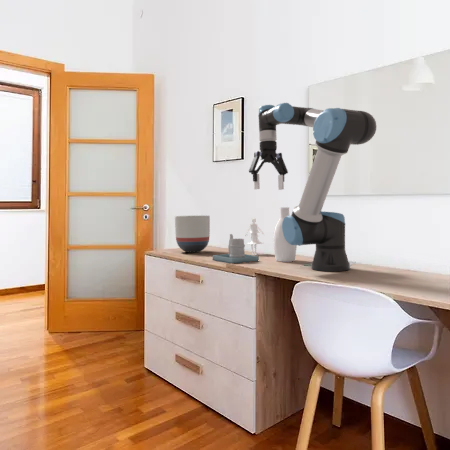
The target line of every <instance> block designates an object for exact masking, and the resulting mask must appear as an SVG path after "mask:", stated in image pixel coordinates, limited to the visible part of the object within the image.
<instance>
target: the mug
mask: <svg viewBox="0 0 450 450" xmlns="http://www.w3.org/2000/svg"><path fill="white" fill-rule="evenodd" d="M245 246H246V245H245V239H244V238H234V236H233V234H232V233H230V234H229V241H228V254H230V255H229V256H230V258H243V257H245V256H246V255H245Z"/></svg>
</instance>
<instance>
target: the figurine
mask: <svg viewBox="0 0 450 450" xmlns="http://www.w3.org/2000/svg"><path fill="white" fill-rule="evenodd" d="M251 220H252V221H251V223H250V225H249V227H248V229H247V230H246V233H245V237H247V236H248V233H250V239H251V241H250V242H247V243H246V244H249V245H250V246H251V255H254V256H258V252H257V245H262V244H264V242H261V241H260V240H259V239H258V237H259V235H258V233H261V234H262V235H263V236H265V234H264V232H263V231H262V229H261V228H260V227H259V226H258V224H257V223H256V218H255V217H253V218H251Z"/></svg>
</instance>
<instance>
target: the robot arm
mask: <svg viewBox="0 0 450 450" xmlns="http://www.w3.org/2000/svg"><path fill="white" fill-rule="evenodd" d="M283 124H284V125H293V126H294V125H296V126H303V127H308V128H309V127H310V128H312V131H313V134H312V135H313V139H315V142H314V143H315V145H316V147H317V151H316V154H315V157H314V159H313V162H312V165H311V168H310V171H309V175H308V177H307V181H306V183H305V185H304V189H303V191H302V194H301V198H300V201H299V204H298V205H297V206H294V207H293V210H292V213H291V215H290V214H289V215H288V216H286V217H285V218H284V219H283V223H282V231H283V235H284V238H285V240H286V241H287V242H288V243H289V244H291V245H297V246H305V245H306V246H307V245H315V252H314V254H313V258H312V259H313V260H312V262H311V269H312V270H314V271H321V272H344V271H349V270H350V269H351V264H350V261H349V259H348V256H347V255H348V254H347V252H346V220H345V219H346V218H345V215H344V214H343V213H340V212H335V211H322V210H323V207H324V205H325V201H326V198H327V196H328V193H329V190H330V188H331V185H332V182H333V179H334V176H335V175H336V171H337V170H338V166H339V164H340V161H341V158H342V156H343V155H346V154H348V152H349V149H350V146H351V145H353V146H354V145H355V146H356V145H357V146H359V145H364V144H366V143H369V142H370V141H371V140H372V139H373V137H375V134H376V131H377V121H376V119H375V117H374V115H372V114H370V113H369V112H367V111H364V110H355V109H346V108H340V107H334V108H332V107H331V108H330V107H329V108H326V109H324V110H322V109H316V108H313V107H302V106H295V105H294V106H293V105H291V104H290V103H289V102H282V103H279V104H277V105H274V104H273V105H272V104H265V105H261V106H259V108H258V130H259V131H258V132H259V133H258V134H259V137H258V139H259V150H258V151H254V154H253V158H252V161H251V164H250V167H249V169H248V172H249V173H251V175H252V181H253V183H254V185H253V187H254V188H253V189H254V190H260V173H259V172H260V170H261V169H262V167H263V166H264V164H265V163H271V164H272V166H273V167H274V168H275V170H276V172H277V173H278V176H277V180H278V182H277V183H278V184H277V185H278V186H277V187H278V191H282V190H285V189H284V187H285V186H284V185H285V184H284V183H285V175H287V174H288V173H289V170H288V169H287V165H286V164H285V162H284V161H285V160H284V159H283V153H282V152H277V147H278V146H277V144H278V143H277V126H278V125H283Z"/></svg>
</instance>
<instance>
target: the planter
mask: <svg viewBox="0 0 450 450" xmlns="http://www.w3.org/2000/svg"><path fill="white" fill-rule="evenodd" d="M210 220H211V219H210V215H206V214H205V215H203V214H201V215H175V216H174V228H175V232H174V234H175V240H176V244H177V246H178V247H179V248H180V250H182V251H184V252H185V253H191V252H193V253H200V252H202V251H203V250H205V249H206V248H207V246H208V245H209V242H210V236H211V235H210V234H211V229H210V228H211V227H210V225H211V224H210V223H211V222H210Z"/></svg>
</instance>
